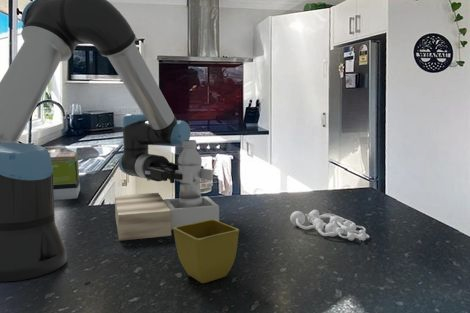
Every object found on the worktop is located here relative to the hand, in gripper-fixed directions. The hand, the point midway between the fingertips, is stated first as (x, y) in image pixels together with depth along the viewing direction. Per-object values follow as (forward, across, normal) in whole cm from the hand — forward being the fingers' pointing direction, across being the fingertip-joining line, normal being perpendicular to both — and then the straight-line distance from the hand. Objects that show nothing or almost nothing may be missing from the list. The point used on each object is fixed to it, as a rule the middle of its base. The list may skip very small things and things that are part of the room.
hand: (202, 176), depth 105 cm
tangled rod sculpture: (+25, -20, -13) cm, 35 cm away
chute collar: (-5, 0, -13) cm, 14 cm away
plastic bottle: (-5, 0, -11) cm, 12 cm away
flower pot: (+26, +20, -13) cm, 36 cm away
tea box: (-63, +12, -13) cm, 65 cm away
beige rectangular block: (-11, +12, -13) cm, 20 cm away
